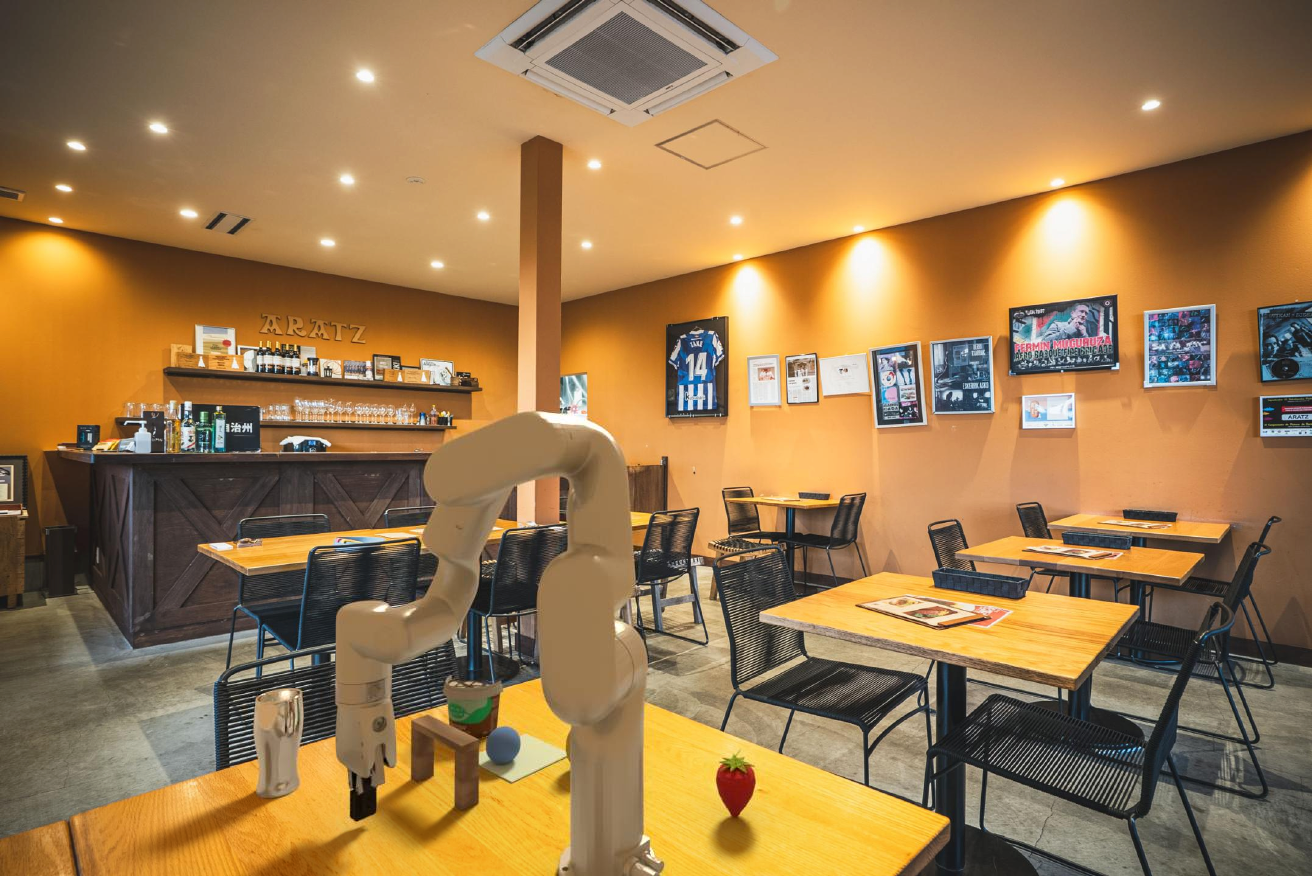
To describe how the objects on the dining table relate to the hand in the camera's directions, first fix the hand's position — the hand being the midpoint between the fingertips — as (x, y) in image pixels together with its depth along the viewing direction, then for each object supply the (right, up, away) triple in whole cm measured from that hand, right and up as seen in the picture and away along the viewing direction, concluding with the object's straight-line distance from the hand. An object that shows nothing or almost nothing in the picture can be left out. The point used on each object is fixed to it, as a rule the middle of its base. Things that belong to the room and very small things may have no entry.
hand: (363, 815), depth 94 cm
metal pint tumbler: (-19, -2, +11) cm, 21 cm away
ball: (+16, +1, +19) cm, 25 cm away
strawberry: (+54, -2, +2) cm, 55 cm away
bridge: (+8, -2, +10) cm, 13 cm away
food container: (+6, -3, +30) cm, 31 cm away
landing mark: (+18, -2, +21) cm, 28 cm away
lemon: (+30, -2, +16) cm, 34 cm away
